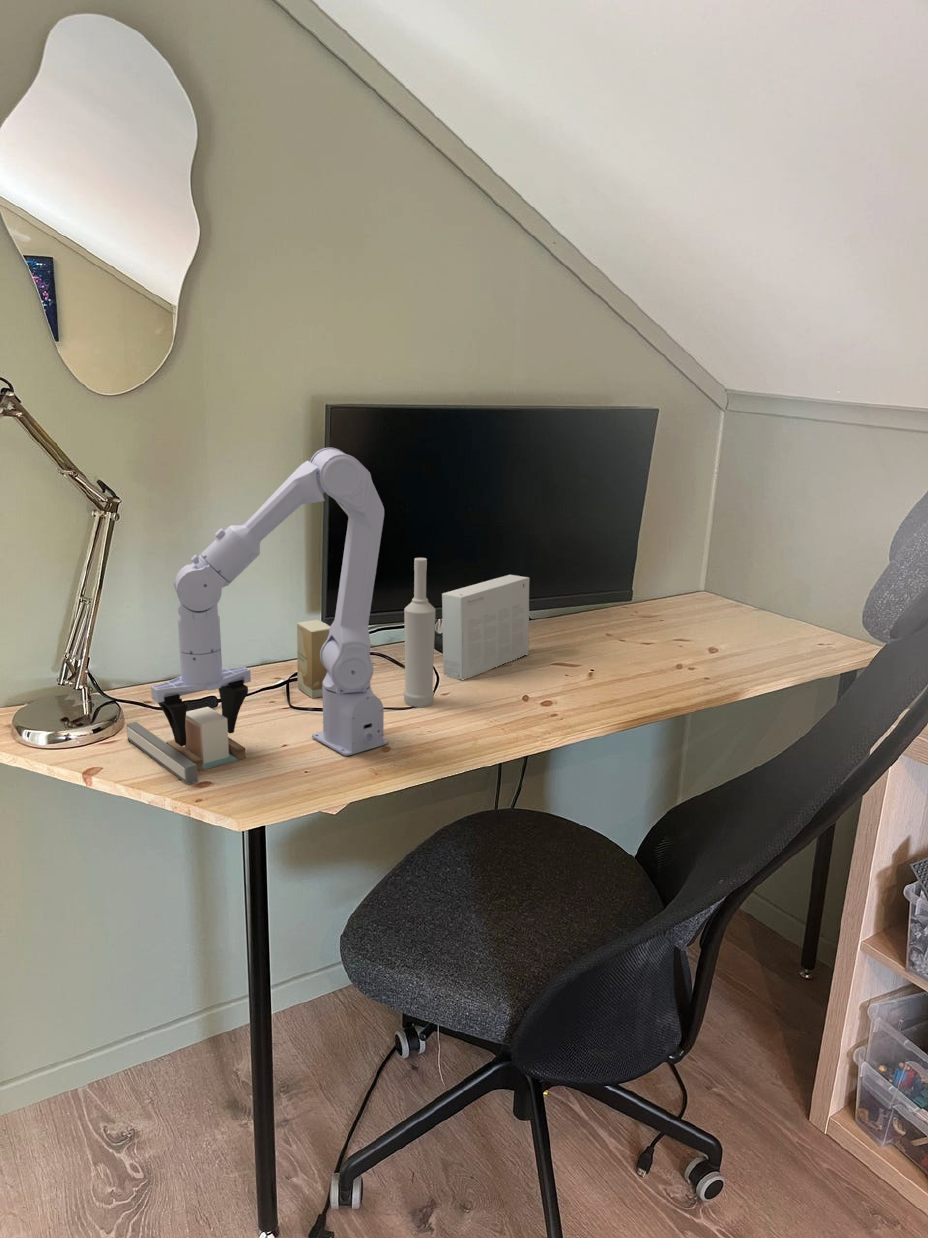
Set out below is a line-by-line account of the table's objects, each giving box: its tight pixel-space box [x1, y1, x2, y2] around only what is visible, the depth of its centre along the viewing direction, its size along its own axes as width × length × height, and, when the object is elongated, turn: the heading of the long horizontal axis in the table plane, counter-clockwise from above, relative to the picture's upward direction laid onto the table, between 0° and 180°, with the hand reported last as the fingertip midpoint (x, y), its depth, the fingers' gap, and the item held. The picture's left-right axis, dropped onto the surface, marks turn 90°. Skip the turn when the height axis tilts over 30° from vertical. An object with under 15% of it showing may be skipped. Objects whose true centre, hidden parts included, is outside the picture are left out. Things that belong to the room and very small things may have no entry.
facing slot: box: [165, 736, 246, 773], centre depth 142 cm, size 9×8×2 cm
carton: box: [184, 706, 229, 764], centre depth 141 cm, size 4×6×6 cm
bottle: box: [403, 557, 436, 708], centre depth 162 cm, size 5×5×25 cm
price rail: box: [126, 721, 199, 785], centre depth 140 cm, size 20×2×2 cm, turn 41°
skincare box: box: [296, 619, 331, 699], centre depth 168 cm, size 6×4×12 cm
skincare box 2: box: [441, 574, 530, 679], centre depth 184 cm, size 21×5×16 cm, turn 141°
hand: (205, 737), depth 141 cm, fingers open, 7 cm apart
